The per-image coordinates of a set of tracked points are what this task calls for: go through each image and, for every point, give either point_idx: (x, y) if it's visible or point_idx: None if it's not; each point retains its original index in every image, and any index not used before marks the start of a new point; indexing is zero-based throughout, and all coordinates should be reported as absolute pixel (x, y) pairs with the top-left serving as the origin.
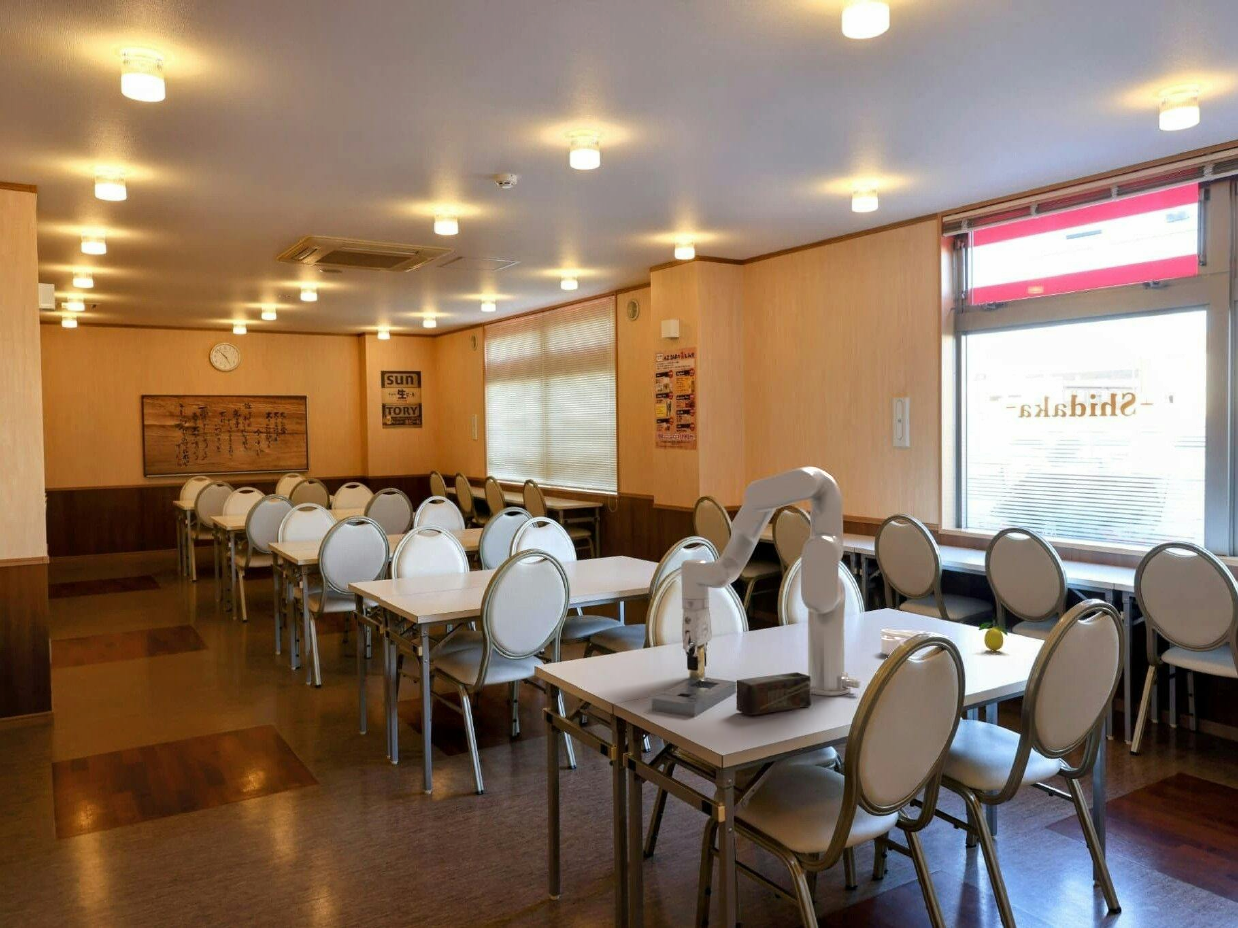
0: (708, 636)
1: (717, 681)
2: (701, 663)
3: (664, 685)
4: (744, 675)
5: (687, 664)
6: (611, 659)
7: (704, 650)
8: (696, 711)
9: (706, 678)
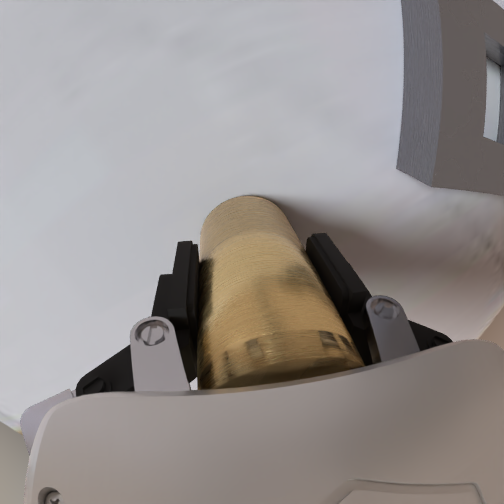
0: (182, 479)
1: (471, 44)
2: (288, 245)
3: (404, 285)
4: (53, 51)
5: None
6: None
7: (177, 333)
8: None
9: (454, 110)
